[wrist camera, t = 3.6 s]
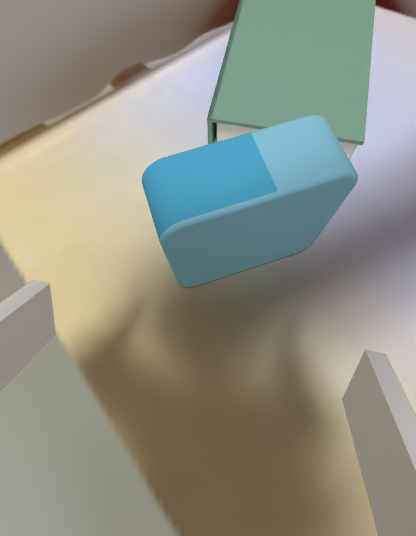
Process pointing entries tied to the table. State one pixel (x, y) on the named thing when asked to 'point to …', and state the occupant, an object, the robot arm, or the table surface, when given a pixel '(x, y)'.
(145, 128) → the table surface
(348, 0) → the green book
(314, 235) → the data package
